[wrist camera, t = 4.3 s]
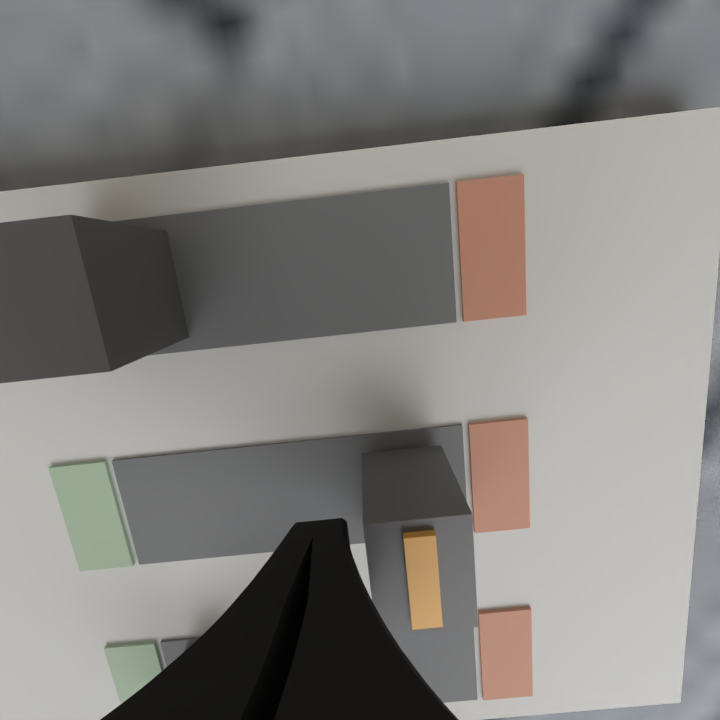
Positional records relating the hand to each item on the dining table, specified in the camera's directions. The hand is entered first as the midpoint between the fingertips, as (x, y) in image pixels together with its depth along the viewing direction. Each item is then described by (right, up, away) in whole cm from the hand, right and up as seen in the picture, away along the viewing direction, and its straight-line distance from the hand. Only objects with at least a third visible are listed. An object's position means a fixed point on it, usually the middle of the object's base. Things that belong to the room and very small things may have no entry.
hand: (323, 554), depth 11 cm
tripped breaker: (+2, +1, +2) cm, 3 cm away
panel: (-1, +1, +4) cm, 4 cm away
